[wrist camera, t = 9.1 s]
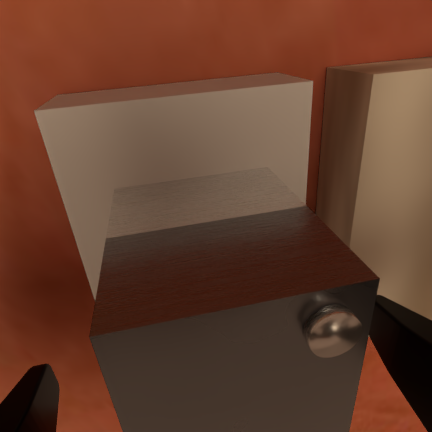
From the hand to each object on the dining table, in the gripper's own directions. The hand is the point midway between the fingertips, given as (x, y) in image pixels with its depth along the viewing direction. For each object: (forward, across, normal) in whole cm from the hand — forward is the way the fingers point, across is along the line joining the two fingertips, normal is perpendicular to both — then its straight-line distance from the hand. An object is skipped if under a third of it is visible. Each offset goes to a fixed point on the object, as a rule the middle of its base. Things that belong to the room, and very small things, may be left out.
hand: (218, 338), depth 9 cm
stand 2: (+6, -11, 0) cm, 13 cm away
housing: (+4, 0, 0) cm, 4 cm away
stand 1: (+6, 0, 0) cm, 7 cm away
